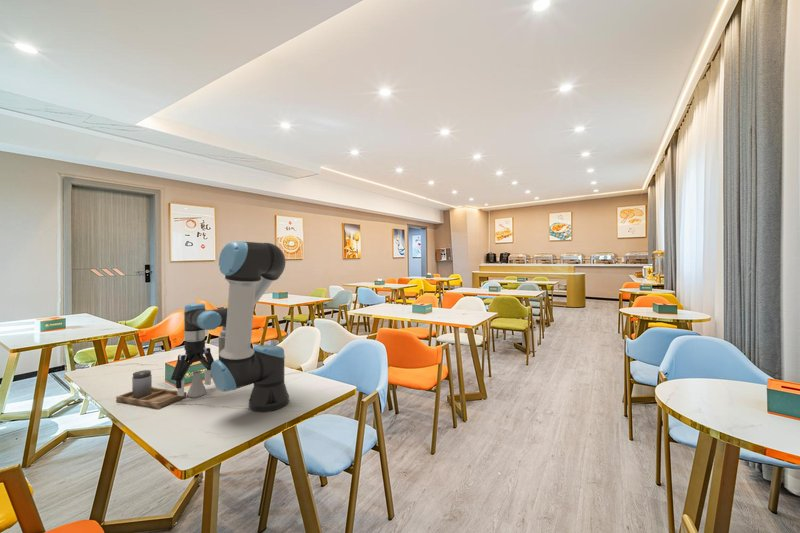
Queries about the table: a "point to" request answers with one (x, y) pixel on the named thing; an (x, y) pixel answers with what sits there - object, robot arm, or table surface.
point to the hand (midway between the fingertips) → (194, 389)
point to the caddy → (152, 398)
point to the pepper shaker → (141, 384)
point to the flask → (196, 386)
